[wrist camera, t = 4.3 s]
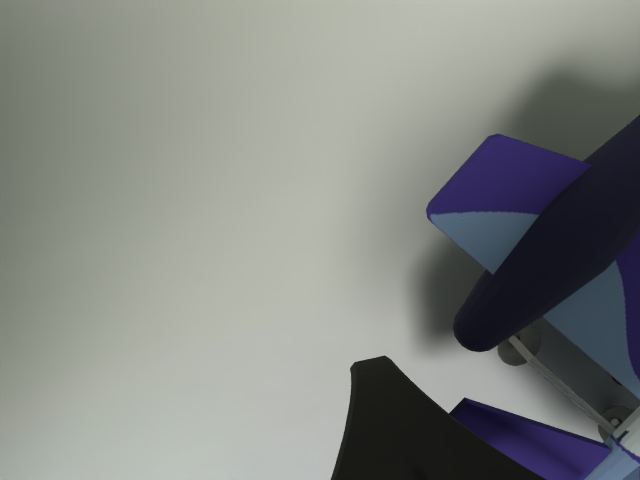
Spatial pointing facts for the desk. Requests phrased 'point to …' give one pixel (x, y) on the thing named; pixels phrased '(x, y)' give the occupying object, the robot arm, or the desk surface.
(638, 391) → the toy airplane
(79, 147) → the desk surface
